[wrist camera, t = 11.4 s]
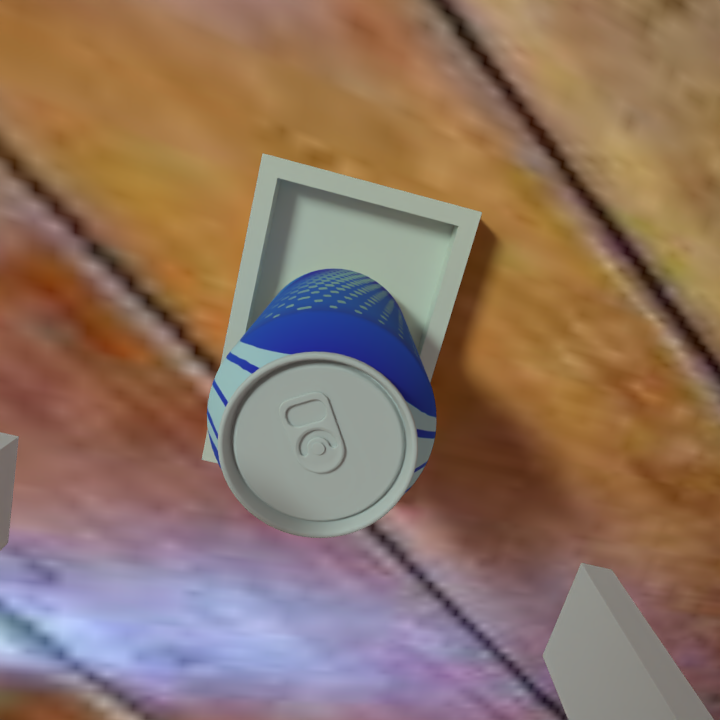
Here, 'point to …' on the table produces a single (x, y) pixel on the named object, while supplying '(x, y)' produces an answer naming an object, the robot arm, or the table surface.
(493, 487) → the table surface
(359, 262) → the tray
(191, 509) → the table surface
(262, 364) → the beer can
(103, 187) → the table surface
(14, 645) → the table surface
